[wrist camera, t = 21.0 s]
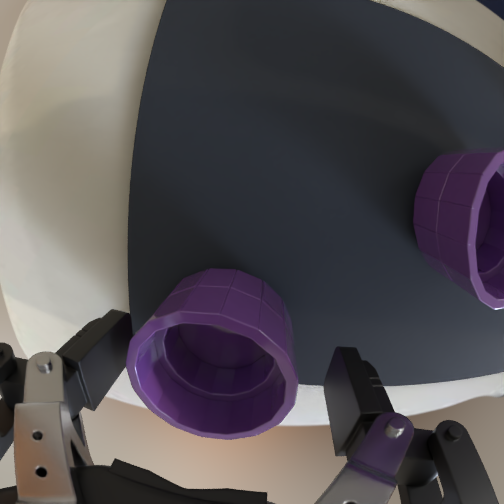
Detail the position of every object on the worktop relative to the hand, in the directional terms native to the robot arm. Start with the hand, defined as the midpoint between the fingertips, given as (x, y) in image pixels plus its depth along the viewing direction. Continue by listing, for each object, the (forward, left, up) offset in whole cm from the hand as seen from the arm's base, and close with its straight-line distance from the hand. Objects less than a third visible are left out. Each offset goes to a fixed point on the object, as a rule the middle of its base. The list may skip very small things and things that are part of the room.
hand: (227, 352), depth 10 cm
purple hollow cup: (-11, +4, -3) cm, 12 cm away
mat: (-11, +4, -3) cm, 12 cm away
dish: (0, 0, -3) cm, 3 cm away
